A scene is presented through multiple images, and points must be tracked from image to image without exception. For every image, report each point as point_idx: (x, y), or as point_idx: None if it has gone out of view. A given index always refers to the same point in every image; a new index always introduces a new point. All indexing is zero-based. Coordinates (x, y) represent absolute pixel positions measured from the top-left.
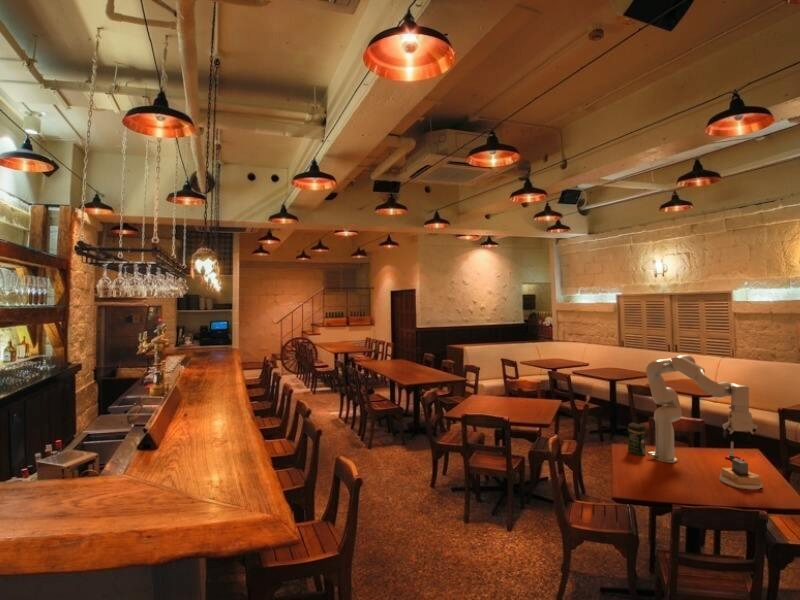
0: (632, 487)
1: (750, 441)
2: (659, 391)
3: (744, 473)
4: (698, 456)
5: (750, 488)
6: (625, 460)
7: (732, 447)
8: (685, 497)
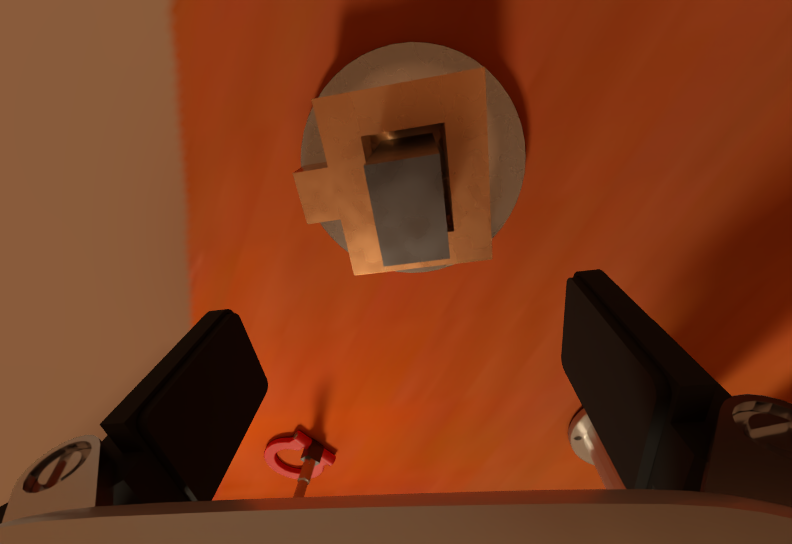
0: None
1: (236, 316)
2: None
3: (401, 145)
4: (438, 463)
5: (408, 43)
6: None
7: None
8: None
